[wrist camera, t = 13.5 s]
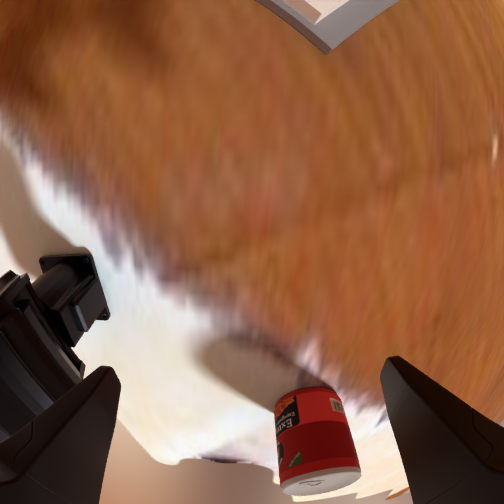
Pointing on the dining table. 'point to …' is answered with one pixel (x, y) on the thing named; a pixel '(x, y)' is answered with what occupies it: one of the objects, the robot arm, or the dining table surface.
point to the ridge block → (327, 17)
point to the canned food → (314, 443)
